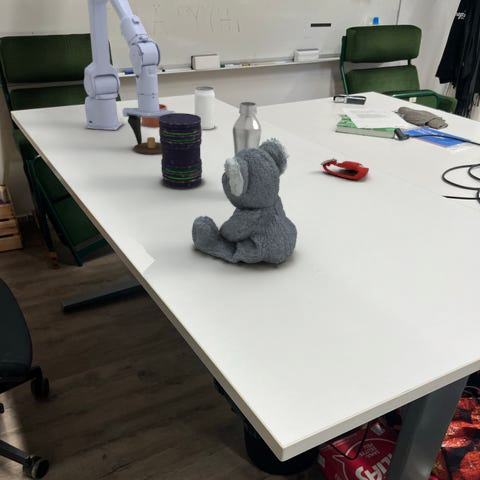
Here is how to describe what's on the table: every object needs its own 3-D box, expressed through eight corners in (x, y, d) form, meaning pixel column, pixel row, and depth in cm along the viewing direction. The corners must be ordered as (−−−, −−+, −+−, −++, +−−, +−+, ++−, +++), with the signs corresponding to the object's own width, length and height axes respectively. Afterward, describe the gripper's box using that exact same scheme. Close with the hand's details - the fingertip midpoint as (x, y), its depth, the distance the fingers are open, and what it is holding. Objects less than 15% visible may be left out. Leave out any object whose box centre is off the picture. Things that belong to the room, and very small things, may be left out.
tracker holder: (356, 162, 131) (379, 165, 123) (352, 179, 133) (374, 183, 124) (319, 155, 127) (340, 157, 118) (315, 172, 128) (335, 176, 119)
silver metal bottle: (261, 191, 115) (267, 102, 103) (253, 201, 110) (258, 109, 98) (236, 187, 117) (239, 99, 105) (226, 197, 111) (228, 105, 99)
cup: (138, 126, 157) (137, 108, 154) (145, 120, 164) (144, 102, 161) (164, 128, 157) (163, 110, 154) (170, 121, 164) (169, 104, 160)
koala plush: (243, 220, 101) (247, 124, 90) (315, 248, 92) (330, 145, 81) (185, 249, 90) (181, 143, 79) (260, 283, 81) (268, 169, 70)
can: (213, 130, 157) (214, 90, 150) (194, 129, 157) (193, 89, 150) (215, 125, 162) (215, 86, 155) (196, 124, 162) (195, 85, 155)
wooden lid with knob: (129, 153, 135) (128, 142, 133) (139, 143, 143) (138, 132, 141) (164, 155, 134) (164, 144, 132) (172, 145, 142) (172, 134, 140)
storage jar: (209, 180, 120) (209, 117, 111) (188, 192, 113) (186, 126, 104) (176, 172, 124) (174, 110, 115) (154, 183, 116) (149, 119, 108)
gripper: (117, 94, 127) (122, 146, 135) (170, 97, 126) (173, 150, 134) (125, 89, 132) (129, 139, 141) (176, 92, 132) (178, 142, 140)
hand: (151, 144), depth 138 cm, fingers open, 6 cm apart
